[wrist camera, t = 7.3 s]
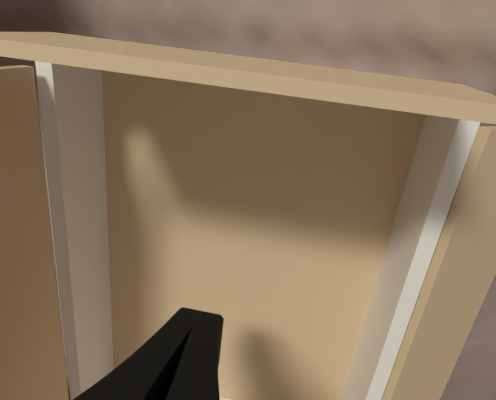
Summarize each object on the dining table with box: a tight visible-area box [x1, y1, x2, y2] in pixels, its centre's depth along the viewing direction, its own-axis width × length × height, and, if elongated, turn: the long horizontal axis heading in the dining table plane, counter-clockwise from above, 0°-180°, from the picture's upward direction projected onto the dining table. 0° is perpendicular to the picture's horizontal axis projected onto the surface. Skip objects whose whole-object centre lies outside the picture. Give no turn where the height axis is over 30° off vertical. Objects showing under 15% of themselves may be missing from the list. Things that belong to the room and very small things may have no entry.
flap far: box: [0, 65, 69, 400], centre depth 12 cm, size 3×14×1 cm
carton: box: [35, 61, 496, 400], centre depth 14 cm, size 15×16×3 cm
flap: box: [0, 32, 496, 124], centre depth 8 cm, size 3×10×1 cm
